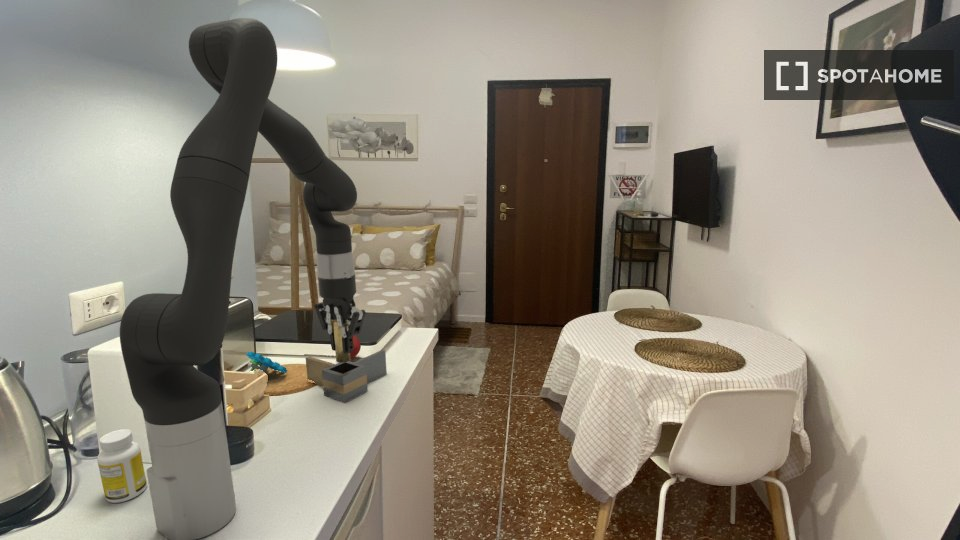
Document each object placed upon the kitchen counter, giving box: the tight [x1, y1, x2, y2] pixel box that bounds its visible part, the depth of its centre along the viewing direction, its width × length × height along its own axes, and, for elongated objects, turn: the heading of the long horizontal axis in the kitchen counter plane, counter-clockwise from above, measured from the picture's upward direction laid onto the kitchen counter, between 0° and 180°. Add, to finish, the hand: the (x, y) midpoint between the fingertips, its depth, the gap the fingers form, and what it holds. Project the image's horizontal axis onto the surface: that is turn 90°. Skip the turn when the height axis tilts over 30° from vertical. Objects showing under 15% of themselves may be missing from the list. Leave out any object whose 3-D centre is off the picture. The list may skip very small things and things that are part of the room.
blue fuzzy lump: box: [246, 351, 288, 374], centre depth 119 cm, size 11×6×10 cm
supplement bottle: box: [97, 428, 148, 504], centre depth 78 cm, size 5×5×10 cm
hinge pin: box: [333, 320, 351, 363], centre depth 109 cm, size 3×3×9 cm
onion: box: [349, 334, 362, 361], centre depth 129 cm, size 6×6×8 cm
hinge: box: [305, 349, 387, 404], centre depth 117 cm, size 16×16×6 cm
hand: (342, 350), depth 109 cm, fingers closed on hinge pin, 3 cm apart
